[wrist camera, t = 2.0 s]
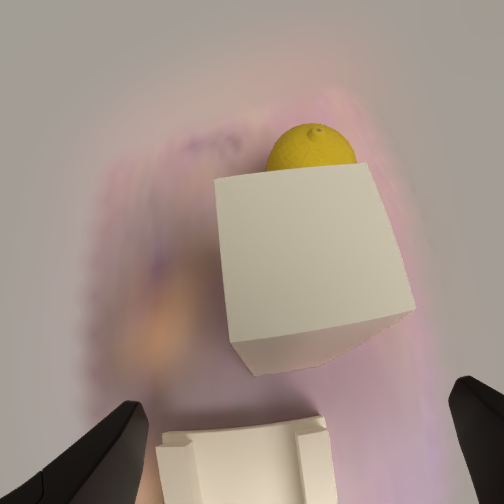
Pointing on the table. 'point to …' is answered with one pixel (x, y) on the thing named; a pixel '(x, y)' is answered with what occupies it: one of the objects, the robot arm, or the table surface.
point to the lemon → (310, 148)
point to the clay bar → (307, 265)
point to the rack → (249, 464)
